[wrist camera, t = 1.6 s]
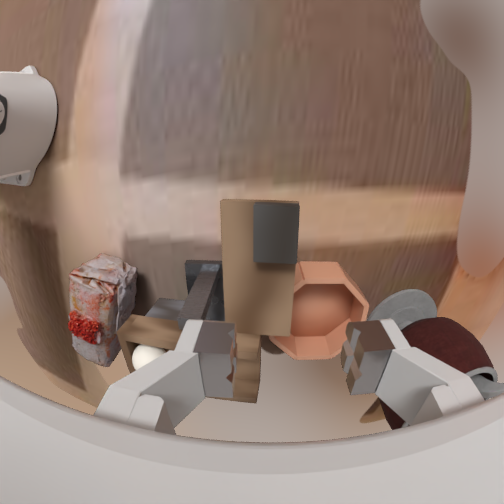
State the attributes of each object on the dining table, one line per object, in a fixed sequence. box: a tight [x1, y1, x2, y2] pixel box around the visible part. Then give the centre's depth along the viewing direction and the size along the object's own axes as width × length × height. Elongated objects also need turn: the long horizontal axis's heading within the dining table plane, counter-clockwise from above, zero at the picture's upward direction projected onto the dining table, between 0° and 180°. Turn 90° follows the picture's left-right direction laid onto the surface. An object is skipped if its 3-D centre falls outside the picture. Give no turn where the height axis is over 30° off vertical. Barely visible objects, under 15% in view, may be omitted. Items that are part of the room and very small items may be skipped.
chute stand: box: [177, 260, 225, 330], centre depth 29 cm, size 6×11×11 cm, turn 0°
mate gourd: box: [367, 289, 504, 430], centre depth 26 cm, size 16×14×20 cm
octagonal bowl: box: [269, 261, 369, 360], centre depth 32 cm, size 11×11×4 cm
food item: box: [68, 253, 137, 367], centre depth 31 cm, size 14×8×10 cm, turn 163°
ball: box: [132, 344, 166, 370], centre depth 24 cm, size 4×4×4 cm
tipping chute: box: [117, 199, 300, 403], centre depth 25 cm, size 15×18×8 cm
